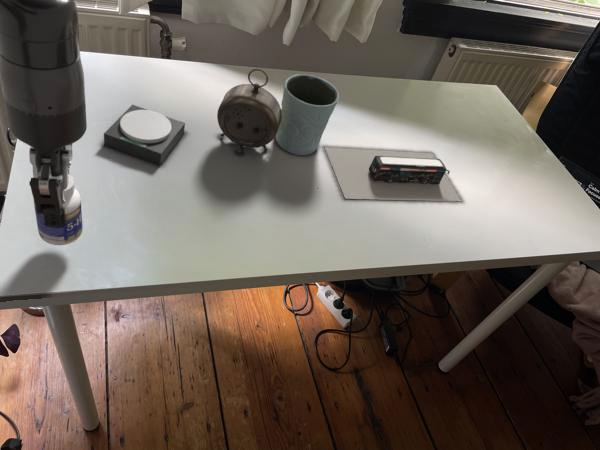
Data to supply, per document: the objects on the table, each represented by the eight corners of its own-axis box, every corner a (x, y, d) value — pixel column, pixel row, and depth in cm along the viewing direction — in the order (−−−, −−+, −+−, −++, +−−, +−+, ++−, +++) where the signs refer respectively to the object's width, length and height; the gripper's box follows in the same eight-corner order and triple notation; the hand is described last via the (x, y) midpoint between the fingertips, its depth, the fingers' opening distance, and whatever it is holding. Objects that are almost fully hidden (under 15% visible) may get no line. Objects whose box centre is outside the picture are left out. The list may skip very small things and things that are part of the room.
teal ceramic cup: (313, 127, 101) (329, 75, 93) (327, 159, 95) (347, 107, 87) (266, 125, 98) (279, 71, 89) (278, 158, 91) (293, 103, 83)
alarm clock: (274, 147, 93) (294, 71, 82) (267, 164, 89) (288, 87, 78) (218, 130, 93) (231, 51, 81) (210, 146, 89) (222, 65, 78)
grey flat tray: (461, 201, 97) (471, 185, 94) (345, 198, 88) (352, 181, 85) (431, 153, 106) (440, 138, 103) (324, 147, 97) (330, 130, 94)
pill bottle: (75, 249, 63) (71, 200, 57) (32, 242, 62) (23, 192, 56) (88, 220, 67) (85, 171, 61) (47, 213, 66) (40, 163, 60)
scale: (160, 164, 82) (161, 150, 80) (104, 145, 82) (103, 129, 80) (184, 133, 90) (185, 119, 87) (132, 115, 89) (132, 100, 87)
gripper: (79, 137, 47) (86, 251, 58) (89, 59, 56) (94, 171, 68) (-12, 130, 44) (15, 251, 56) (15, 50, 54) (33, 168, 65)
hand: (58, 207), depth 62 cm, fingers closed on pill bottle, 5 cm apart
